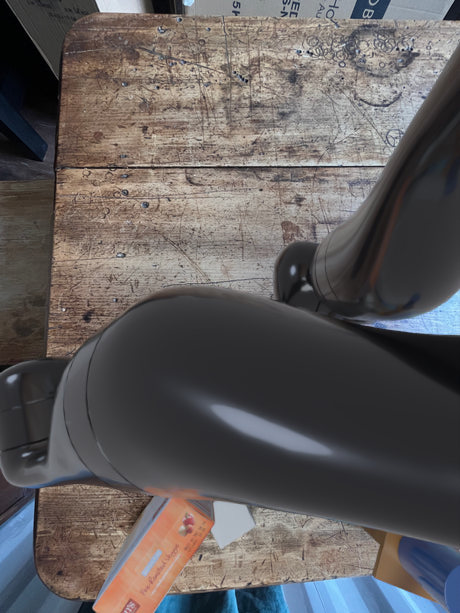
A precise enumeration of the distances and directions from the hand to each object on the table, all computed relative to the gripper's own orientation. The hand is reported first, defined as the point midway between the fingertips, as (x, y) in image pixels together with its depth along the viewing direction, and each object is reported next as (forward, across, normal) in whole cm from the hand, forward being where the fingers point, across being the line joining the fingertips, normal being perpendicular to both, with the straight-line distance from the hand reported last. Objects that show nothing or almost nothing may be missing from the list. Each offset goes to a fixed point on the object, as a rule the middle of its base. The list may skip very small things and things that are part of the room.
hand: (268, 482), depth 53 cm
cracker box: (+10, -14, +1) cm, 17 cm away
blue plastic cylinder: (-8, +14, -11) cm, 20 cm away
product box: (+10, -5, +2) cm, 11 cm away
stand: (+8, +14, +4) cm, 17 cm away
